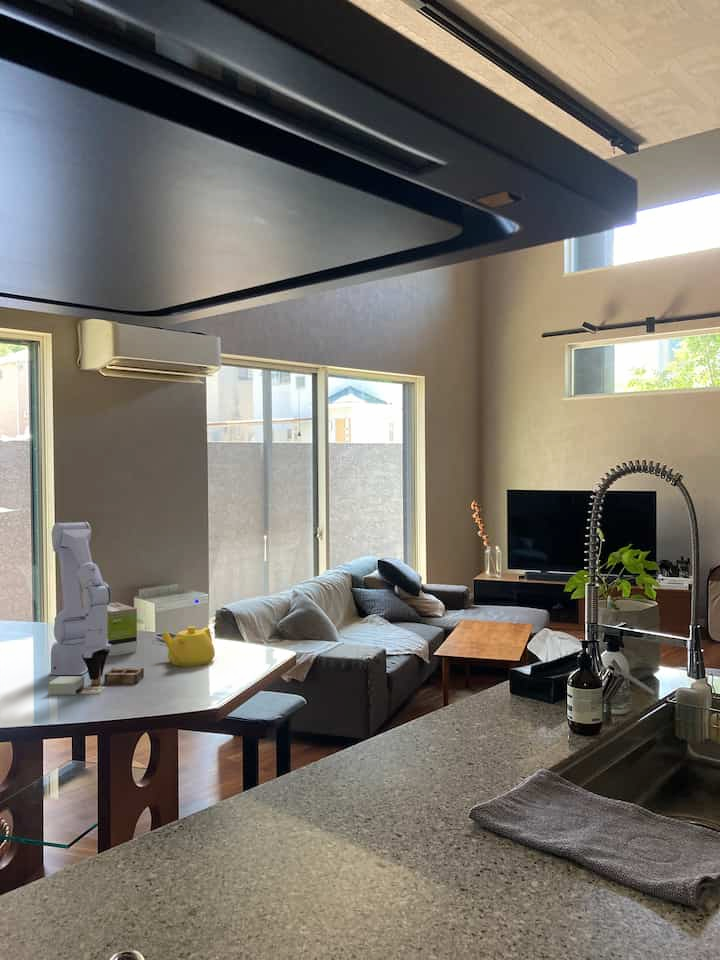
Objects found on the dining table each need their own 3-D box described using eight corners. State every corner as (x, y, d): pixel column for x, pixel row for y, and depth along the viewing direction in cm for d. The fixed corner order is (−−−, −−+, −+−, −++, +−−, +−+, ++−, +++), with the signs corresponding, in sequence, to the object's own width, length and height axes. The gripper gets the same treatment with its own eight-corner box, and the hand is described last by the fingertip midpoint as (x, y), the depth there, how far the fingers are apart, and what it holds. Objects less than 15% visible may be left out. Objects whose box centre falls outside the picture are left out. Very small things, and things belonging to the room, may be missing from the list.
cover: (48, 694, 200) (48, 683, 199) (58, 687, 206) (58, 676, 206) (75, 694, 200) (75, 683, 200) (84, 687, 207) (84, 676, 207)
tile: (80, 693, 201) (80, 691, 201) (87, 688, 206) (87, 685, 206) (99, 693, 201) (99, 691, 201) (105, 688, 206) (105, 686, 206)
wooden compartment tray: (104, 683, 211) (104, 674, 211) (112, 676, 218) (112, 668, 218) (136, 683, 211) (136, 674, 211) (143, 677, 218) (143, 668, 218)
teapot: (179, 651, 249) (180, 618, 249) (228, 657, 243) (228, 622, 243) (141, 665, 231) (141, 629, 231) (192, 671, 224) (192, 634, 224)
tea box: (89, 648, 253) (89, 604, 253) (118, 644, 259) (118, 601, 259) (108, 657, 242) (108, 610, 241) (137, 652, 248) (138, 607, 248)
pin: (90, 684, 208) (90, 663, 208) (93, 682, 211) (93, 660, 211) (98, 684, 208) (98, 663, 208) (101, 682, 211) (101, 661, 211)
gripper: (102, 634, 202) (101, 685, 202) (118, 623, 217) (118, 671, 217) (75, 634, 202) (75, 684, 202) (94, 623, 217) (93, 670, 217)
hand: (95, 677), depth 210 cm, fingers closed on pin, 2 cm apart
